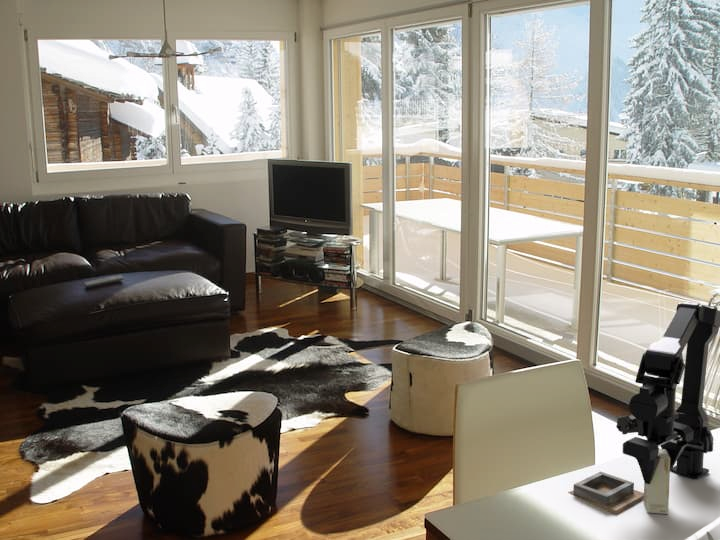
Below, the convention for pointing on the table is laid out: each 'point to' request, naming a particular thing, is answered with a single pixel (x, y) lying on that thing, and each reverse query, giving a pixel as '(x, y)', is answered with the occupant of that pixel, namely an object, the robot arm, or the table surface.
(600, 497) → the holder
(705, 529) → the table surface
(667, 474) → the skincare box
